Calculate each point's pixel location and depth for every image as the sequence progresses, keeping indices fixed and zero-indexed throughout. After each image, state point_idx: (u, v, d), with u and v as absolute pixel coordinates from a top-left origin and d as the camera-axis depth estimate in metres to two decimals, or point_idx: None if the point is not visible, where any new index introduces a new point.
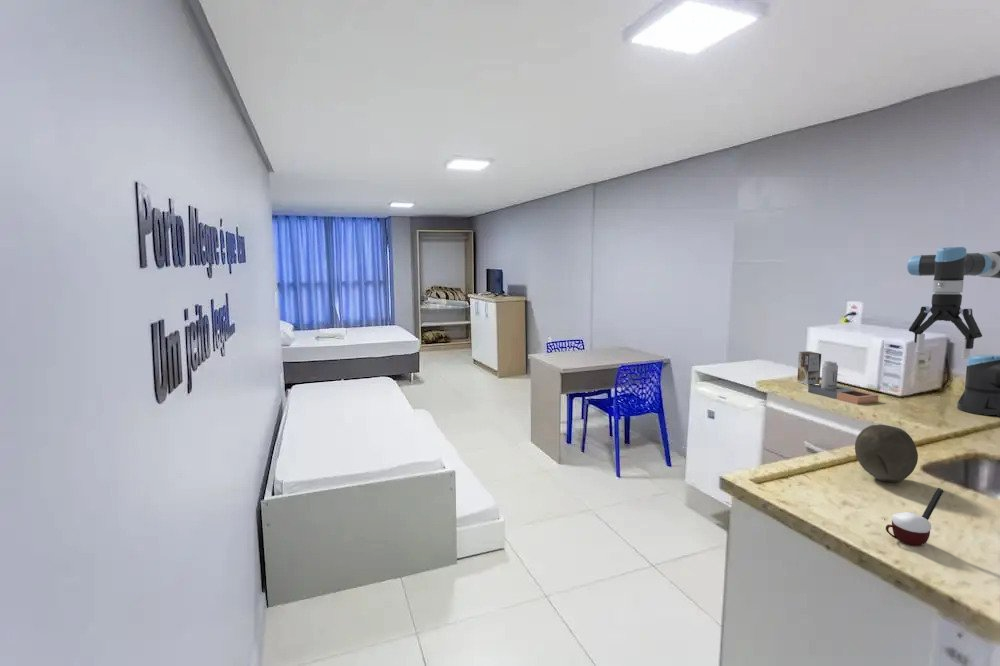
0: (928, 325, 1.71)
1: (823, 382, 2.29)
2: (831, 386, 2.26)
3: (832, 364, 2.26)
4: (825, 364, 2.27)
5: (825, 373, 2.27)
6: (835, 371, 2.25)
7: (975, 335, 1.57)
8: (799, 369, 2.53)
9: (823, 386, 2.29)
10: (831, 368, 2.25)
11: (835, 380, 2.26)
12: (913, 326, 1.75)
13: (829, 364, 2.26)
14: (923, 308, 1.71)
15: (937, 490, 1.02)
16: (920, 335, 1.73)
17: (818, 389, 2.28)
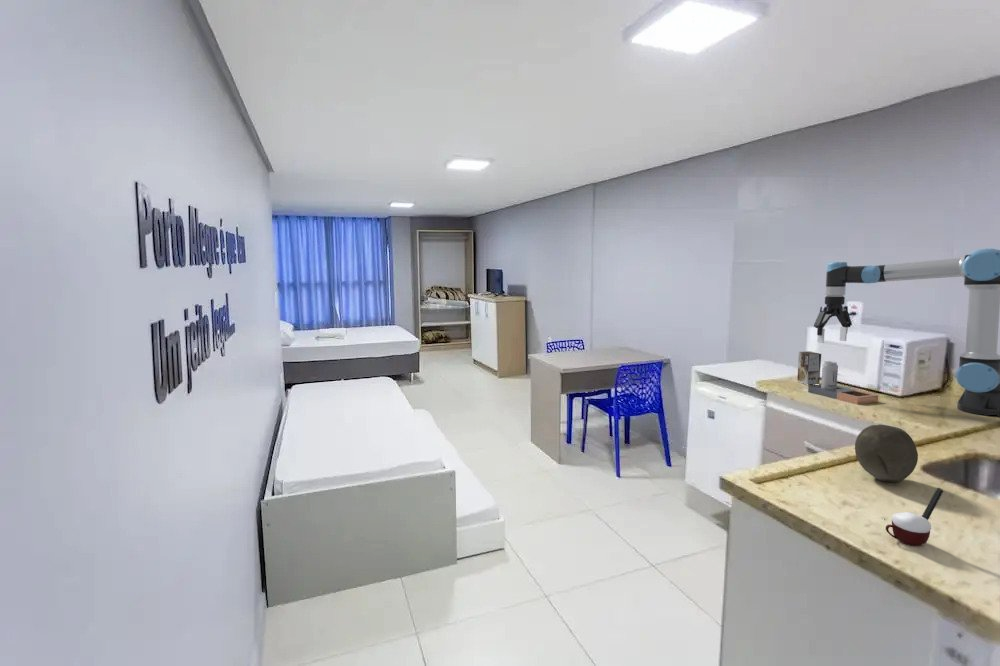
0: (840, 320, 2.27)
1: (823, 382, 2.29)
2: (831, 386, 2.26)
3: (832, 364, 2.26)
4: (825, 364, 2.27)
5: (826, 373, 2.27)
6: (835, 371, 2.25)
7: None
8: (799, 369, 2.53)
9: (823, 386, 2.29)
10: (831, 368, 2.25)
11: (835, 380, 2.26)
12: None
13: (829, 364, 2.26)
14: None
15: (937, 490, 1.02)
16: (841, 327, 2.29)
17: (818, 389, 2.28)
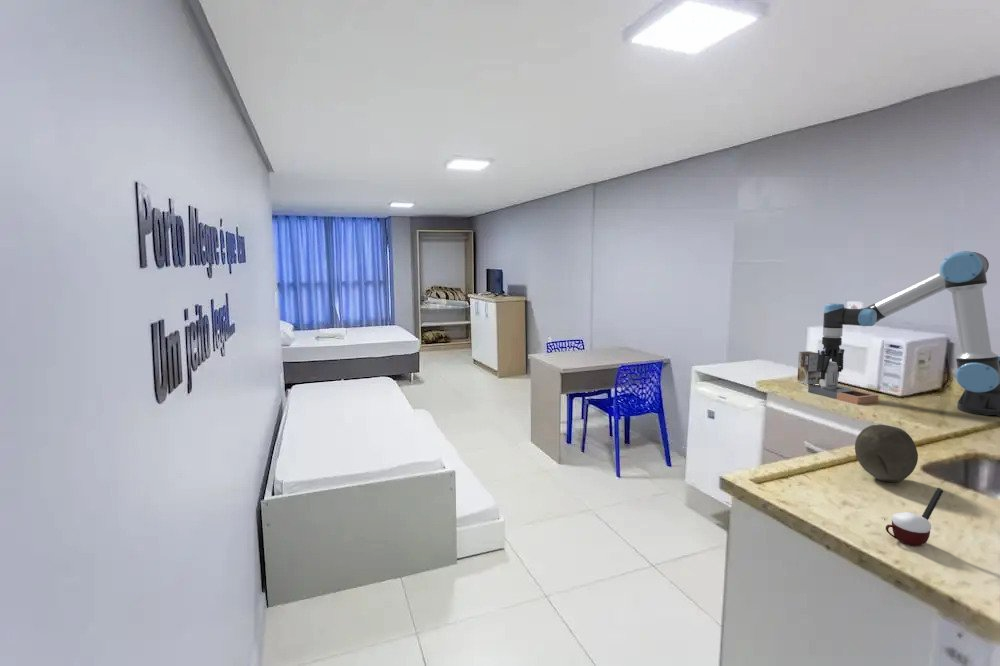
0: None
1: None
2: (831, 386, 2.26)
3: (832, 364, 2.26)
4: None
5: None
6: (835, 371, 2.25)
7: None
8: (799, 369, 2.53)
9: (823, 386, 2.29)
10: (831, 368, 2.25)
11: (835, 380, 2.26)
12: None
13: (829, 364, 2.26)
14: None
15: (937, 490, 1.02)
16: None
17: (818, 389, 2.28)
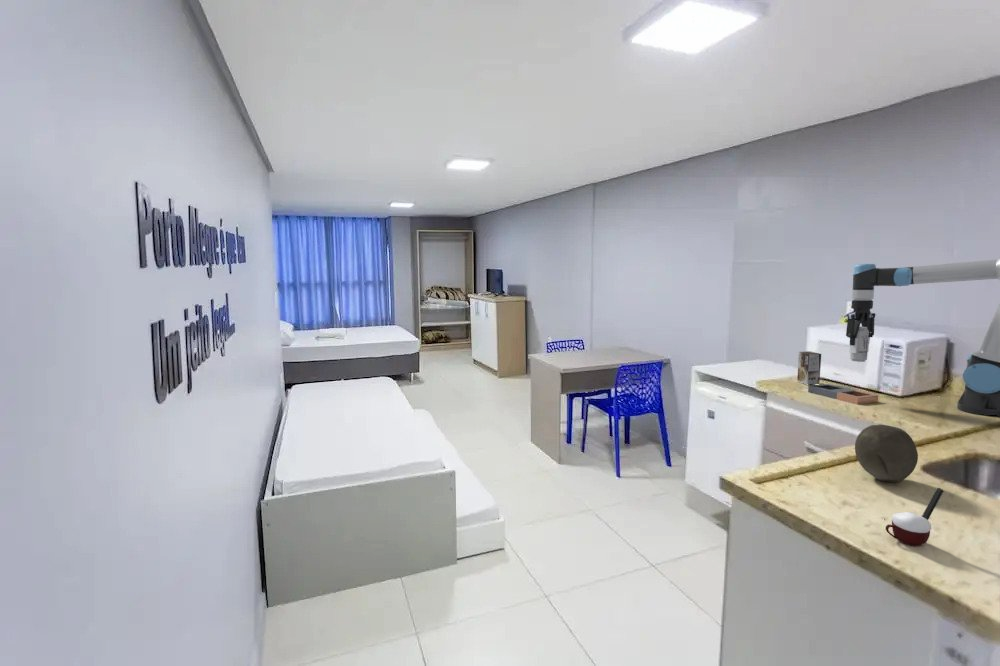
0: None
1: None
2: (862, 352, 2.12)
3: (862, 329, 2.11)
4: None
5: None
6: (866, 336, 2.11)
7: None
8: (799, 369, 2.53)
9: (853, 353, 2.14)
10: (862, 333, 2.11)
11: (866, 346, 2.12)
12: None
13: (859, 329, 2.12)
14: None
15: (937, 490, 1.02)
16: None
17: (818, 389, 2.28)
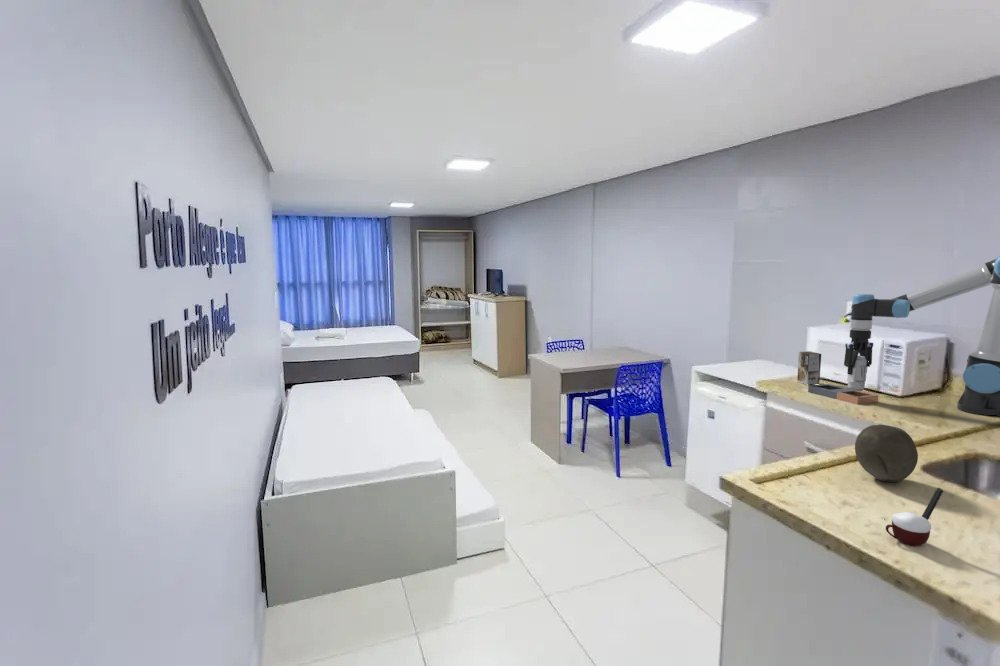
0: None
1: None
2: (859, 382, 2.13)
3: (860, 359, 2.13)
4: None
5: None
6: (864, 366, 2.13)
7: None
8: (799, 369, 2.53)
9: (850, 382, 2.16)
10: (859, 362, 2.13)
11: (863, 375, 2.13)
12: None
13: (857, 358, 2.13)
14: None
15: (937, 490, 1.02)
16: None
17: (818, 389, 2.28)
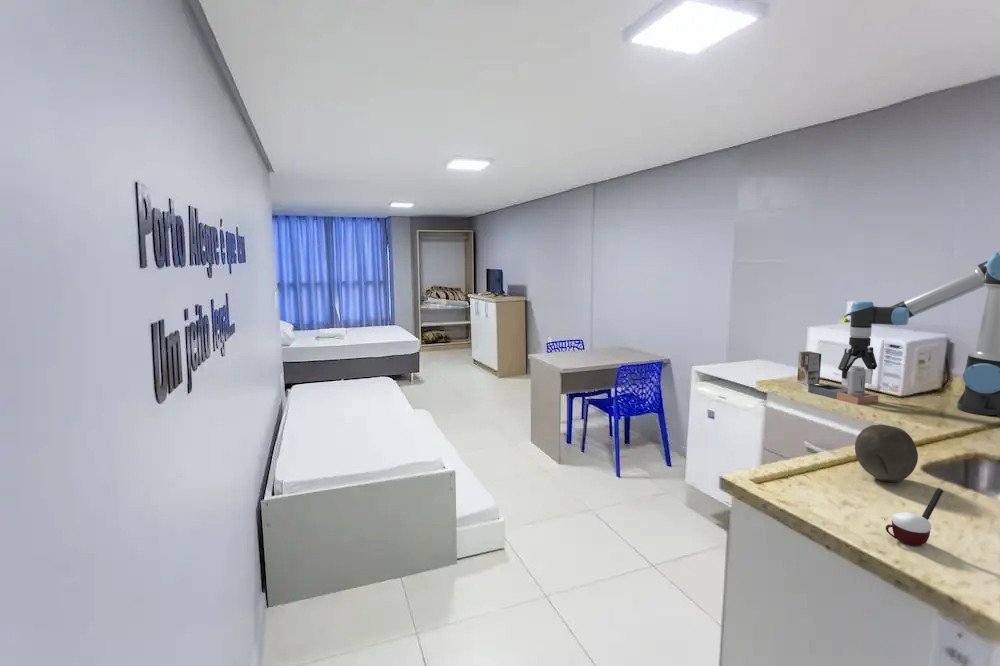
0: (865, 361, 2.17)
1: (850, 388, 2.16)
2: (859, 392, 2.14)
3: (860, 369, 2.13)
4: (852, 369, 2.15)
5: (853, 379, 2.15)
6: (863, 376, 2.13)
7: None
8: (799, 369, 2.53)
9: (850, 392, 2.16)
10: (859, 373, 2.13)
11: (863, 386, 2.14)
12: None
13: (857, 369, 2.14)
14: None
15: (937, 490, 1.02)
16: (866, 369, 2.18)
17: (818, 389, 2.28)
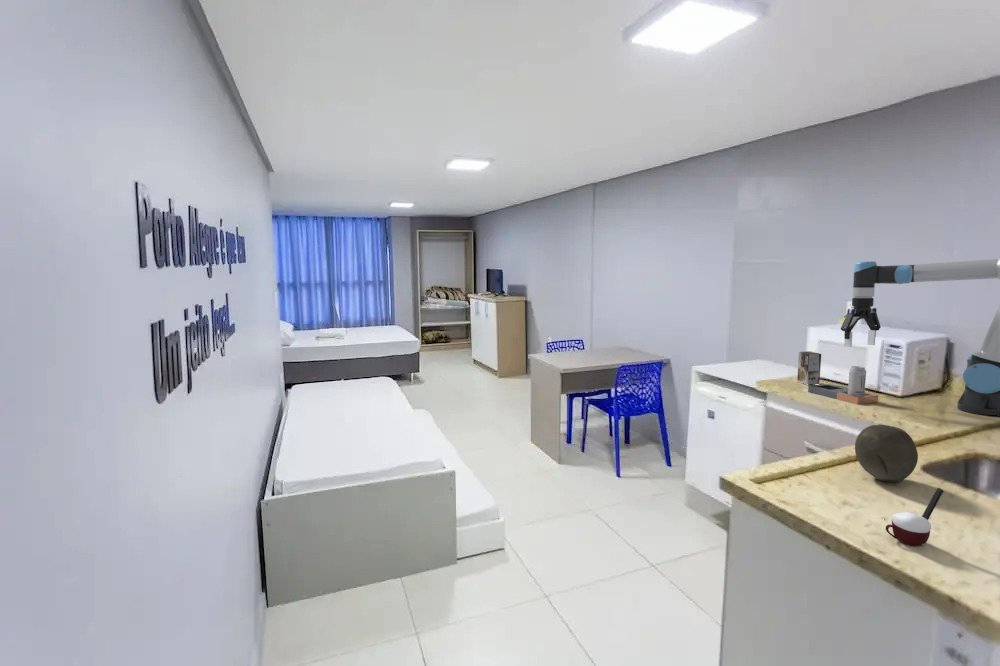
0: (869, 322, 2.15)
1: (850, 388, 2.16)
2: (859, 392, 2.14)
3: (860, 370, 2.13)
4: (852, 369, 2.15)
5: (853, 379, 2.15)
6: (863, 376, 2.13)
7: None
8: (799, 369, 2.53)
9: (850, 392, 2.16)
10: (859, 373, 2.13)
11: (863, 386, 2.14)
12: None
13: (857, 369, 2.14)
14: None
15: (937, 490, 1.02)
16: (869, 330, 2.16)
17: (818, 389, 2.28)
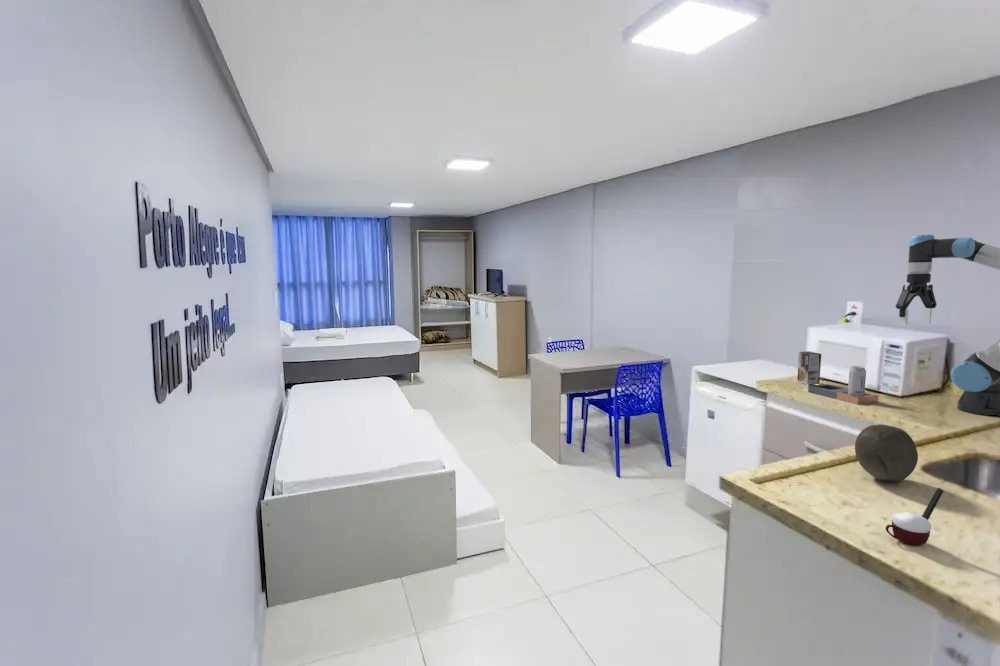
0: (924, 300, 2.04)
1: (850, 388, 2.16)
2: (859, 392, 2.14)
3: (860, 370, 2.13)
4: (852, 369, 2.15)
5: (853, 379, 2.15)
6: (863, 376, 2.13)
7: None
8: (799, 369, 2.53)
9: (850, 392, 2.16)
10: (859, 373, 2.13)
11: (863, 386, 2.14)
12: None
13: (857, 369, 2.14)
14: None
15: (937, 490, 1.02)
16: (924, 309, 2.06)
17: (818, 389, 2.28)
